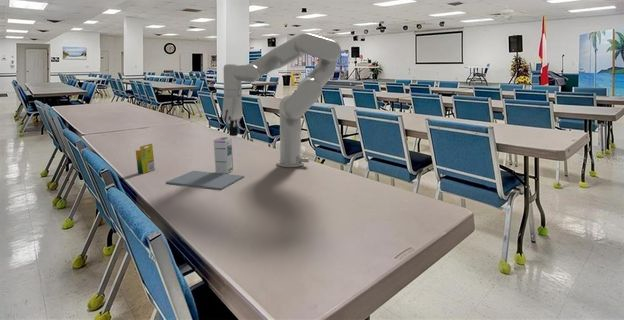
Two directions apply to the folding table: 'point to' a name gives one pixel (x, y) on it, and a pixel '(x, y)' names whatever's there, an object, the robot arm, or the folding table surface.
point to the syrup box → (223, 155)
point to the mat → (205, 180)
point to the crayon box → (145, 159)
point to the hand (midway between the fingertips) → (233, 135)
